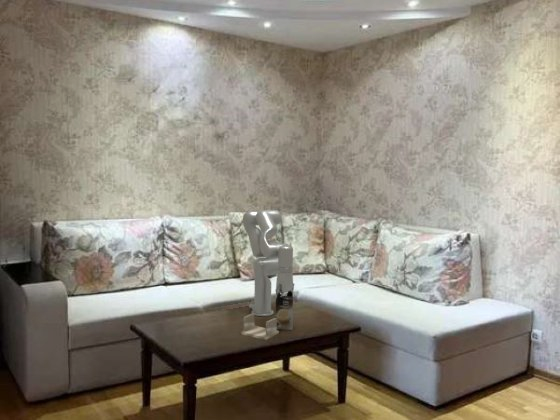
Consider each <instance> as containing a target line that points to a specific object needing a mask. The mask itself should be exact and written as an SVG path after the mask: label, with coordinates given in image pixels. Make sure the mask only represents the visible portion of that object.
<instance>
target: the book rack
mask: <svg viewBox="0 0 560 420" xmlns="http://www.w3.org/2000/svg"><path fill="white" fill-rule="evenodd" d="M255 317H256V315H255V314H254V313H249V314H248V315H245V316H243V328H242V329H243V330H242V331H240V335H242V336H247V337H251V338H256V339H260V340H264V341H267V340H269V339H271V338H273V337H274V336H277V335H278V334H279V333H280V331H279V330H278V329H277V318H275V317H273V318H271V319H269V320H267V321H265V327H264V326H263V327H262V326H258V325H255V322H256V321H255V319H256V318H255Z"/></svg>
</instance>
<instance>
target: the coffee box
mask: <svg viewBox="0 0 560 420" xmlns="http://www.w3.org/2000/svg"><path fill="white" fill-rule="evenodd" d="M282 297H283V305H278V304H277V296H276V297H275V298H276V299H275V312H274V315H275V317H274V318H277V330H285V331H286V330H288V331H292V330H293V323H294V322H293V321H294V303H295V302H294V300H295V299H294V296H293V297H291V296H287V295H283V296H282Z"/></svg>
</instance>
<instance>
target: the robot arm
mask: <svg viewBox="0 0 560 420" xmlns="http://www.w3.org/2000/svg"><path fill="white" fill-rule="evenodd" d="M282 218H283V217H282V213H281V212H280V211H279V210H277V209H260V210H247V211H246V212H244V214H243V216H242V226H243V227H244V230H245V232H246V234H247V236H248V241H249V244H250V248H251V252H252V255H253V256H254V257H255V258H257V259H255V260H254V261H253V264H252V266H253V267H252V268H253V276H254V300H253V301H254V302H253V303H249V306H248V307H249V308H250V309H252V310H251V311H250V312H251V313H250V314H252V313H254V314H255V317H268V316H272V315H274V314H275V312H274V310H273V309H272V280H271V279H270V277H269V276H270V275H276V282H275V283H276V284H275V295H276V297H277V304H278V305H283V297H282V296H284V294H285V293H286V296H291V297H294V295H293V293H294V288H295V283H294V277H293V276H294V275H293V273H294V272H293V270H294V268H293V267H294V260H293V259H294V247H292V246H291V245H288V244H287V243H280V242H279V243H278V241H276V240H273V239H271V238H274V237H275V236H276V235H277V233H278V231H279V230H278V227H277V225H279V224H281V222H282ZM257 226H259V227H257Z"/></svg>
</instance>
